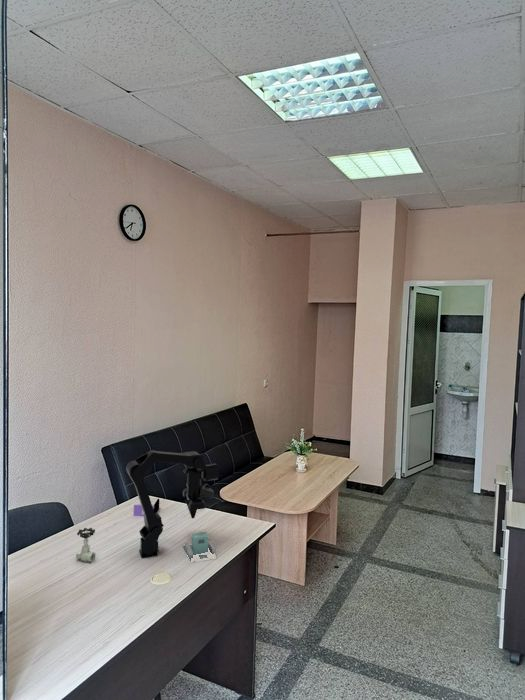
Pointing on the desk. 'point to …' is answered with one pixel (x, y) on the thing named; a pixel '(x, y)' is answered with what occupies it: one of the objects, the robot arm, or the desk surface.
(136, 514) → the toy room diorama
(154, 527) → the robot arm
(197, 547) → the block
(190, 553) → the plate
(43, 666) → the desk surface
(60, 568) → the desk surface
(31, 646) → the desk surface
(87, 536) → the valve
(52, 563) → the desk surface
